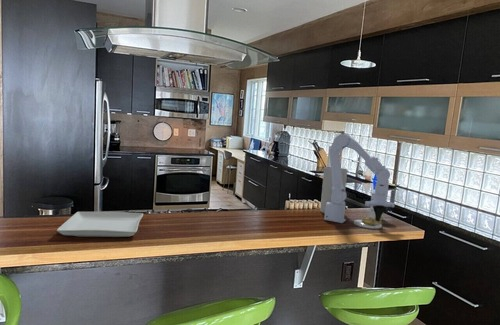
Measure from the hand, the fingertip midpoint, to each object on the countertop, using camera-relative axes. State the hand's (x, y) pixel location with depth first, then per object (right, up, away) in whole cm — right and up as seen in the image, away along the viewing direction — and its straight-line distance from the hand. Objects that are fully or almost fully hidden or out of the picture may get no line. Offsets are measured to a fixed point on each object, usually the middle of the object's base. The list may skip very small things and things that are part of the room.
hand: (377, 221), depth 170 cm
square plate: (-120, +2, -31) cm, 124 cm away
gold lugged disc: (-2, -1, +3) cm, 4 cm away
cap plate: (-4, -3, +3) cm, 6 cm away
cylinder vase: (-16, 0, +26) cm, 31 cm away
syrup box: (+6, -2, +18) cm, 20 cm away
